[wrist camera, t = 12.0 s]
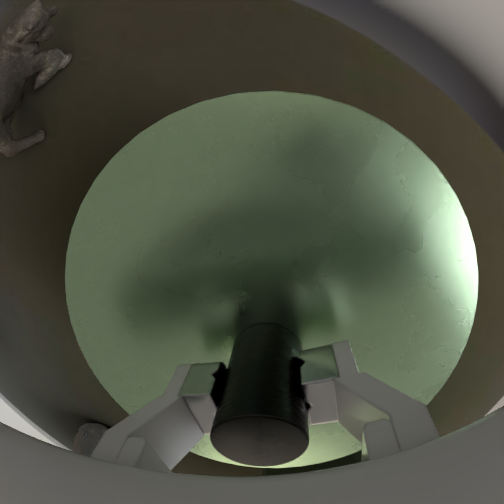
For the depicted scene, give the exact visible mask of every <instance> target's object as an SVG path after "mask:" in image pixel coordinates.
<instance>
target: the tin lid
mask: <svg viewBox="0 0 504 504" xmlns="http://www.w3.org/2000/svg"><path fill="white" fill-rule="evenodd" d="M65 289H66V301H67V306H68V311H69V316H70V320H71V324H72V327H73V330H74V333H75V336H76V339H77V342H78V344H79V347H80V349H81V351H82V353H83V355H84V357H85V359H86V361H87V363H88V365H89V366H90V368H91V369H92V371H93V372H94V374H95V376H96V377H97V379H98V380H99V382H100V383H101V384H102V386H103V387H104V388H105V389H106V390H107V392H108V393H109V394H110V395H111V397H112V398H113V399H114V400H115V401H116V402H117V403H118V404H119V405H120V406H121V407H122V408H123V409H124V410H125V411H126V412H127V413H128V414H129V415H131V414H133V413H134V412H136V411H137V410H139V409H140V408H142V407H143V406H145V405H146V404H148V403H149V402H151V401H152V400H154V399H155V398H157V397H158V396H163V394H164V392H165V390H166V388H167V386H168V384H169V382H170V380H171V378H172V376H173V374H174V372H175V370H176V368H177V366H179V365H182V364H196V363H211V362H223V363H225V365H226V368H227V371H226V375H225V379H224V383H223V387H222V390H221V394H220V398H219V402H218V405H217V409H216V413H215V417H214V420H213V424H212V428H211V432H210V434H204V437H203V438H202V439H201V440H200V441H199V442H198V443H197V444H196V445H195V446H194V447H193V448H192V449H191V450H190V452H192V453H195V454H197V455H200V456H203V457H206V458H210V459H213V460H216V461H220V462H225V463H230V464H235V465H240V466H249V467H259V468H288V467H300V466H307V465H313V464H318V463H323V462H327V461H331V460H335V459H338V458H342V457H344V456H347V455H350V454H353V453H355V452H358V451H360V450H362V443H361V442H359V441H358V440H357V439H356V438H355V437H354V436H353V435H352V434H351V433H350V432H349V431H347V430H346V429H345V428H344V427H343V426H342V425H341V424H340V423H339V422H338V421H336V422H330V423H324V424H317V425H310V423H309V419H308V411H307V402H305V400H304V395H303V390H302V385H301V374H300V367H301V363H300V358H299V351H300V350H306V349H311V348H316V347H320V346H325V345H330V344H332V343H336V342H340V341H344V340H348V341H349V343H350V346H351V349H352V352H353V355H354V358H355V361H356V364H357V367H358V370H359V373H361V372H366V373H367V374H369V375H371V376H373V377H375V378H376V379H378V380H380V381H382V382H384V383H386V384H387V385H389V386H391V387H393V388H395V389H397V390H399V391H401V392H402V393H404V394H406V395H408V396H410V397H412V398H414V399H416V400H418V401H420V402H422V403H423V404H425V405H427V404H428V403H429V402H430V401H431V400H432V399H433V398H434V396H435V395H436V394H437V393H438V391H439V390H440V389H441V388H442V387H443V385H444V384H445V382H446V381H447V379H448V378H449V376H450V375H451V373H452V371H453V370H454V368H455V367H456V365H457V363H458V361H459V359H460V357H461V355H462V352H463V350H464V348H465V346H466V343H467V341H468V338H469V334H470V331H471V328H472V325H473V321H474V316H475V311H476V305H477V299H478V264H477V256H476V248H475V243H474V240H473V236H472V233H471V229H470V226H469V222H468V219H467V217H466V215H465V212H464V210H463V208H462V206H461V204H460V202H459V200H458V198H457V196H456V194H455V192H454V190H453V189H452V187H451V186H450V184H449V183H448V181H447V180H446V178H445V177H444V176H443V174H442V173H441V171H440V170H439V169H438V167H437V166H436V165H435V164H434V163H433V162H432V161H431V160H430V158H429V157H428V156H427V155H426V154H425V153H424V152H423V151H422V150H421V149H420V148H419V147H418V146H417V145H416V144H415V143H414V142H412V141H411V140H410V139H408V138H407V137H406V136H404V135H403V134H402V133H400V132H399V131H397V130H396V129H395V128H393V127H392V126H390V125H389V124H387V123H386V122H384V121H382V120H381V119H379V118H377V117H375V116H373V115H371V114H368V113H366V112H364V111H362V110H360V109H358V108H356V107H354V106H351V105H348V104H345V103H342V102H338V101H335V100H331V99H328V98H324V97H321V96H317V95H311V94H304V93H295V92H285V91H259V92H244V93H235V94H231V95H226V96H222V97H217V98H213V99H209V100H205V101H201V102H199V103H196V104H194V105H191V106H189V107H186V108H184V109H181V110H179V111H177V112H174V113H172V114H170V115H168V116H166V117H164V118H163V119H161V120H159V121H158V122H156V123H155V124H153V125H151V126H150V127H148V128H147V129H145V130H144V131H142V132H141V133H139V134H138V135H137V136H135V137H134V138H133V139H132V140H131V141H130V142H129V143H127V144H126V145H125V146H124V147H123V148H122V149H121V150H120V151H119V152H117V153H116V154H115V155H114V156H113V158H112V159H111V160H110V161H109V162H108V164H107V165H106V166H105V167H104V169H103V170H102V171H101V172H100V174H99V175H98V176H97V177H96V179H95V180H94V182H93V184H92V185H91V187H90V189H89V191H88V192H87V194H86V196H85V198H84V199H83V201H82V203H81V205H80V208H79V210H78V213H77V216H76V218H75V221H74V224H73V226H72V230H71V234H70V238H69V243H68V248H67V253H66V265H65Z"/></svg>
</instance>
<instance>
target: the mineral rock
mask: <svg viewBox="0 0 504 504" xmlns="http://www.w3.org/2000/svg"><path fill="white" fill-rule="evenodd" d="M107 430H108V428H106V427H105V426H103V425H101V424H95V423H85V424H83V425H82V426H81V427H80V428H79V432H78V433H77V434H76V436H75V439H74V445H73V452H75V453H79V454H82V455H85V456H89V457H90V456H91V455H92V453H93V451H94V449H95V448H96V446H97V444H98V443H99V441H100V439H101V438H102V436H103V434H104V433H105V431H107Z"/></svg>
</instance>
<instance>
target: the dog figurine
mask: <svg viewBox="0 0 504 504" xmlns="http://www.w3.org/2000/svg"><path fill="white" fill-rule="evenodd" d="M57 10H58V7H57V6H53V7H50V8H49V9H47V10H46V11H45V10H44V7H43V5H42V4H41V2H40V0H35V1H34V2H33V3H31V4H30V5H29V6H28V7H27V8H25V9H24V10H22V11H21V12H20V13H19V14H17V15H16V16H15V17H14V18H13V19H12V20H11V21H10V23H9V24H8V25H7V27H6V29H5V30H4V32H2V34H1V35H0V153H2V154H4V155H5V156H7V157H8V158H10V157H12V156H14V155H16V154H17V153H18V152H20V151H21V150H24V149H26V148H28V147H30V146H32V145H34V144H35V143H37V142H40V141H42V140H43V139H44V136H45V133H44V131H43V130H36V131H34V132H33V133H32V134H31V135H30V136H27V137H24V138H21V139H17V140H14V139H13V138H12V130H11V129H10V128H9V126H10V124H11V122H12V120H13V118H14V115H15V113H16V111H17V109H18V106H19V103H20V102H21V100H22V97H23V91H22V90H23V87H24V85H25V82H26V80H27V79H28V77H30V76H32V75H33V74H35V73H37V72H38V73H37V75H36V77H35V79H34V82H33V89H34V90H36V89H37V88H39V87H40V86H42V85H44V84H45V83H46V82H47V81H48V80H49V79H51V78H52V77H53V76H54V75H55V74H56V73H57V72H58V70H59V69H62V68H64V67H66V65H67V64H68V63H69V62H70V60H71V58H72V55H71V53H68V54H66V55H65V54H64V53H63V52H62V51H61V50H60V49H58V48H54V49H52V50H50V51H42V52H39V43H38V42H44V41H47V40H49V39H50V38H51V37H52V36H53V34H54V28H53V27H52V26H51V25H50V24H49V22H48V20H49V18H50V17H52V16H53V15H55V14H56V12H57Z"/></svg>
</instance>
